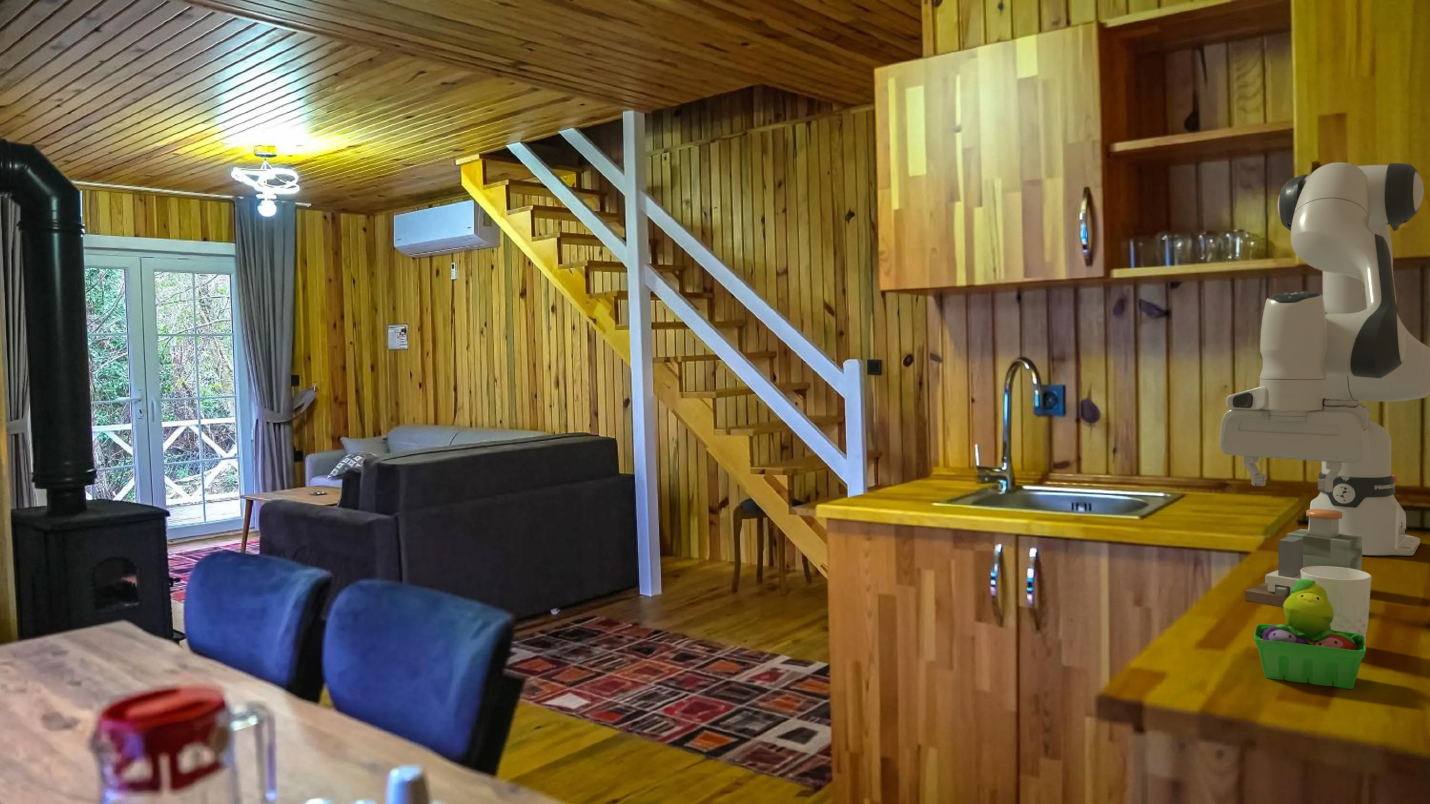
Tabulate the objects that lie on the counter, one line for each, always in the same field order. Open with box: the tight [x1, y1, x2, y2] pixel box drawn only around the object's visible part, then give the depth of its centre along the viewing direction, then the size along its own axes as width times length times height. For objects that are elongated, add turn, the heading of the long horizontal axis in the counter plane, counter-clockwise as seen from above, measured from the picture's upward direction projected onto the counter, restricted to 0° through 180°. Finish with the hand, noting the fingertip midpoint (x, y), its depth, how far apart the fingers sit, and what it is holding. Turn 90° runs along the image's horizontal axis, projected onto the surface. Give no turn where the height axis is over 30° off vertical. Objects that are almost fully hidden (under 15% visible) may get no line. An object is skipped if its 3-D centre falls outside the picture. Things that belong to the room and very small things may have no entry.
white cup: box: [1300, 566, 1372, 643], centre depth 131 cm, size 8×8×10 cm
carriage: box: [1264, 536, 1303, 595], centre depth 154 cm, size 6×5×8 cm
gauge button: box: [1305, 508, 1342, 538], centre depth 161 cm, size 5×5×4 cm
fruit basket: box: [1253, 579, 1367, 690], centre depth 121 cm, size 11×9×11 cm
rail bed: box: [1244, 528, 1363, 607], centre depth 157 cm, size 20×10×8 cm, turn 129°
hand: (1291, 488), depth 153 cm, fingers open, 8 cm apart
